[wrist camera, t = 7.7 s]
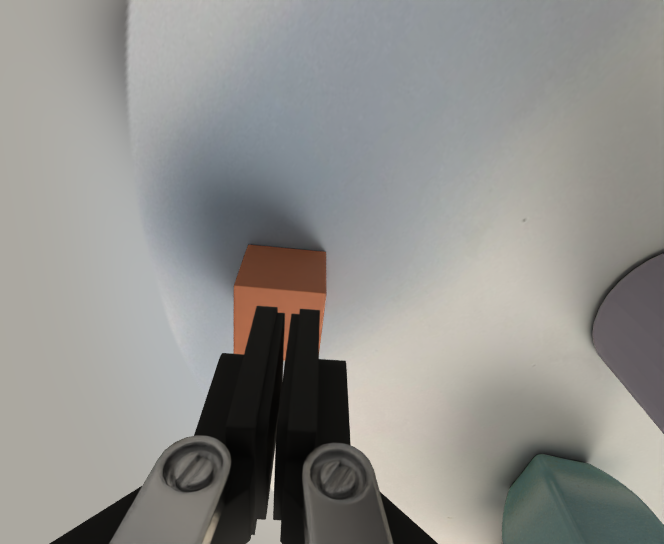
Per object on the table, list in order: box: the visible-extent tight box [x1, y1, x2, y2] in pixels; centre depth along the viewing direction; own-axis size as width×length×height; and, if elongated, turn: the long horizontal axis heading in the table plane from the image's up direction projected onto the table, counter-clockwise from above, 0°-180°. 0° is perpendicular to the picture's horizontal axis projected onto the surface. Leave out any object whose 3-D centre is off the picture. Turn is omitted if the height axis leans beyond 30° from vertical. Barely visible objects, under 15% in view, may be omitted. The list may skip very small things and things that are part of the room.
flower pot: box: [502, 454, 664, 544], centre depth 33 cm, size 9×9×9 cm
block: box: [234, 245, 326, 360], centre depth 25 cm, size 5×5×5 cm
